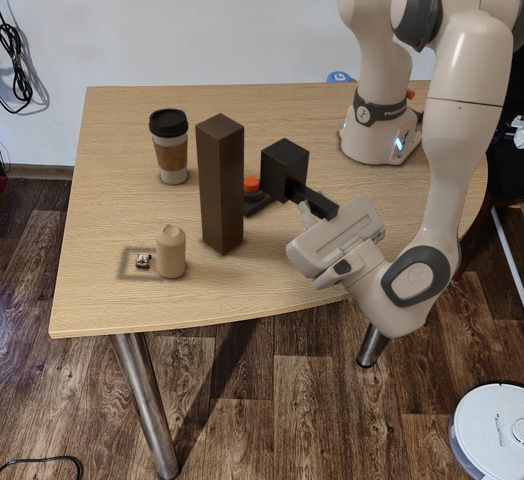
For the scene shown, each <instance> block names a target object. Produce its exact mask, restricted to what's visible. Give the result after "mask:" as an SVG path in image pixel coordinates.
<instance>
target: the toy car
mask: <svg viewBox="0 0 524 480" xmlns="http://www.w3.org/2000/svg"><path fill="white" fill-rule="evenodd" d="M152 259H153V256H152V254H150V253H149V252H139V253H138V254H137V259H136V260H135V265H134V266H135V268H136V269H137V268H138V269H150V264H149V262H150V260H152Z"/></svg>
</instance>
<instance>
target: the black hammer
mask: <svg viewBox="0 0 524 480" xmlns="http://www.w3.org/2000/svg"><path fill="white" fill-rule="evenodd" d="M310 154H311V153H310V150H308V149H306V148H304V147H302V146H300V144H297V143H296V142H294V141H292V140H290V139H288V138H286V137H282V138H281V139H279V140H277V141H275V142H273V143H272V144H269V145H268V146H266V147H265V148H263V149H261V150H260V165H259V166H260V168H259V179H260V190H261V191H263V192H265V193H266V194H268V195H269V196H271V197H273V198H274V199H276V200H275V201H277V202H279V203H280V204H282V205H284V204H286V203H288V202H289V201H290V202H292V203H294V204H295V205H296V206H297V205H298V204H299V203H300V202H302V201H304V200H305V199H307V200H308V201H309V203H310V204H311V205H312V207H311V208H310V212H311V215H313V217H315V218H318V219H319V220H320V221H321V220H322V219H324V218H325V219H326V220H327V221H330V220H331V219H333V218H334V217H336V216H337V215H338V209H339V205H338V204H336V203H334V202H332V201H331V200H329V199H327V198H326V197H324V196H322V195H321V194H319V193H317V191H316V190H314V189H313V188H312V187H309V186H308V185H307V181H308V180H307V179H308V171H309V161H310Z"/></svg>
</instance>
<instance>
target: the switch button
mask: <svg viewBox="0 0 524 480" xmlns="http://www.w3.org/2000/svg"><path fill="white" fill-rule="evenodd" d="M258 179H259V178H258V177H257V176H255V175H254V176H253V175H248V176H244V191H246V192H256V191H257V190H258V189H259V180H258Z"/></svg>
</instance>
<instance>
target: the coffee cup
mask: <svg viewBox="0 0 524 480" xmlns="http://www.w3.org/2000/svg"><path fill="white" fill-rule="evenodd" d="M189 128H190V127H189V121H188V117H187V114H186V112H185V111H184V110H182V109H179V108H160V109H156V110H155V111H153V112H152V113H151V114H149V120H148V129H149V132H150V133H151V139H152V144H153V148H154V153H155V157H156V161H157V164H158V168H159V173H160V178H161V180H162V181H163V182H164V183H166V184H168V185H179V184H182V183H184V182H185V181H186V180H187V178H188V149H189V148H188V146H189V145H188V143H189V142H188V141H189V135H188V131H189Z"/></svg>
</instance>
